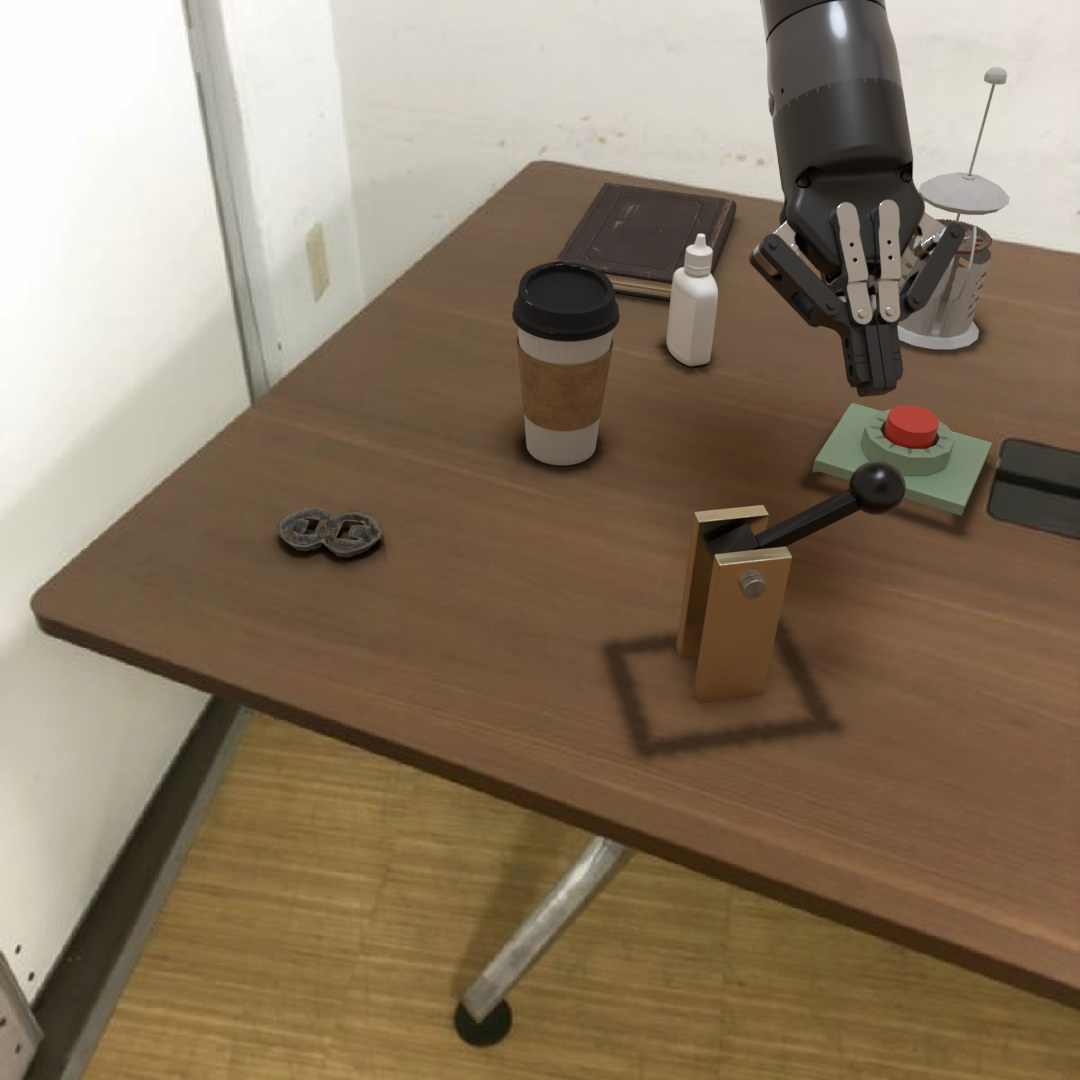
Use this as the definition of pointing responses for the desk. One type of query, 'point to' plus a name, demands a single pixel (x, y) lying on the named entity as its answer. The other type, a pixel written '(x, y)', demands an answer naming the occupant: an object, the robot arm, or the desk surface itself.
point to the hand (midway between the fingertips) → (878, 392)
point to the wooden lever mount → (731, 606)
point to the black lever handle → (824, 511)
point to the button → (911, 427)
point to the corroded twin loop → (330, 531)
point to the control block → (907, 458)
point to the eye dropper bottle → (693, 307)
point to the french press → (956, 254)
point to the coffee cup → (564, 357)
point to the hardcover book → (646, 235)
